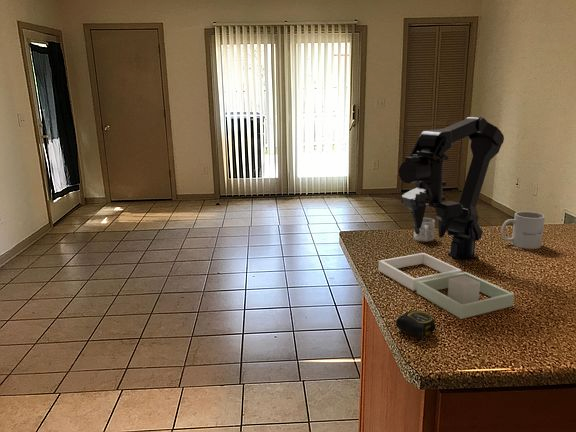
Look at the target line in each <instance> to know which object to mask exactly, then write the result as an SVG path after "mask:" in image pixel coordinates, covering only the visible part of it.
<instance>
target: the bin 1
mask: <svg viewBox="0 0 576 432" xmlns="http://www.w3.org/2000/svg"><path fill="white" fill-rule="evenodd" d="M422 264H423V265H424V266H427V267H428V268H431V269H432V270H435V271H437V272H439V273H435V274H429V275H424V276H419V277H413V276H411V275H410V274H408V273H405V272H404V271H402V270H400V269H401V268H405V267H406V268H407V267H412V266H417V265H422ZM377 269H378V270H377V271H378V272H380V273H382V274H383V275H385V276H387V277H389V278H390V279H392V280H394V281H395V282H397V283H398V284H400V285H402V286H403V287H406V288H407V289H409V290H411V291H412V292H413V291H417V282H419V281H424V280H429V279H433V278H438V277H443V276H448V275H453V274H458V273H463V270H462V269H460V268H458V267H456V266H453V265H452V264H449V263H447V262H446V261H443V260H441V259H438V258H436V257H434V256H432V255H429V254H428V253H426V252H419V253H414V254H409V255H405V256H404V255H402V256H397V257H392V258H387V259H386V258H385V259H382V260H378V268H377Z"/></svg>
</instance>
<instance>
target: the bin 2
mask: <svg viewBox="0 0 576 432" xmlns="http://www.w3.org/2000/svg"><path fill="white" fill-rule="evenodd" d="M464 275H465V276H467V277H470V278H472V279H474V280H476V281H478V282H480V290H479V293H482V294H484V295H486V296H488V297H489V298H485V299H480V300H479V301H475V302H471V303H466V304H461V303H459V302H457V301H455V300H453V299H451V298H450V297H448V295H446V294H444V293H442V292H440V291H439V290H443V289H448V285H449V279H450V278H454V277H459V276H464ZM416 294H418V295H419V296H421V297H422V298H425V299H426V300H427V301H429V302H431V303H433V304H434V305H437V306H438V307H439V308H441V309H443V310H445V311H446V312H449V313H450V314H452V315H453V316H455V317H457V318H459V319H460V320H463V319H467V318H470V317H471V318H472V317H474V316H475V317H476V316H478V315H483V314H486V313H492V312H494V311H499V310H502V309H506V308H511V307H513V306H514V301H515V300H514V299H515V293H512V292H510V291H508V290H507V289H504V288H502V287H500V286H498V285H495V284H493V283H492V282H489V281H487V280H485V279H482V278H480V277H478V276H475V275H473V274H471V273H470V272H466V271H462V273H458V274H453V275H448V276H443V277H438V278H433V279H429V280H424V281H419V282H417V290H416Z"/></svg>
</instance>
